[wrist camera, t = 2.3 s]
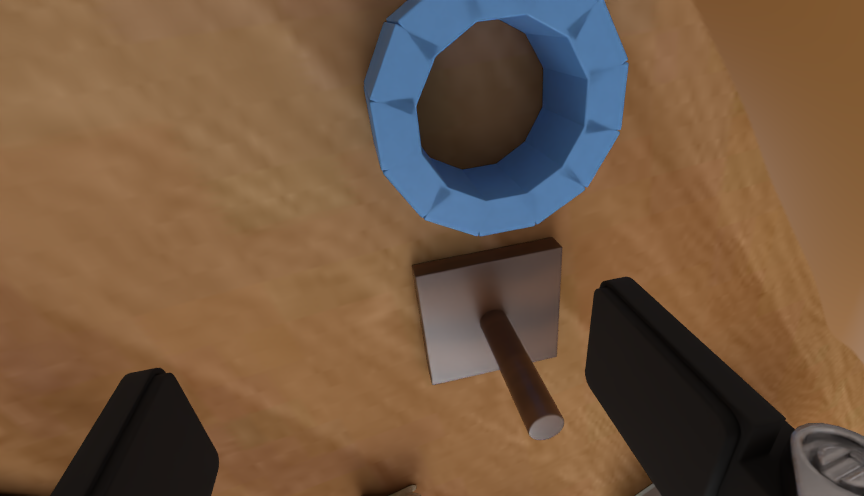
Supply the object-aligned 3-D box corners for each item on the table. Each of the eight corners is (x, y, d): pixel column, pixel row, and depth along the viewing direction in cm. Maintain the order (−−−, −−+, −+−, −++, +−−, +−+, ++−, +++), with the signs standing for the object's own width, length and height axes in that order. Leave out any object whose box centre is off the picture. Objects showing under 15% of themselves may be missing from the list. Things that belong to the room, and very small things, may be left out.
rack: (411, 264, 28) (445, 383, 19) (553, 236, 29) (648, 336, 20) (428, 371, 33) (462, 505, 24) (548, 344, 34) (623, 462, 25)
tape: (345, -14, 20) (346, -22, 16) (582, -43, 21) (643, -57, 17) (386, 213, 26) (396, 253, 22) (569, 180, 27) (612, 211, 23)
